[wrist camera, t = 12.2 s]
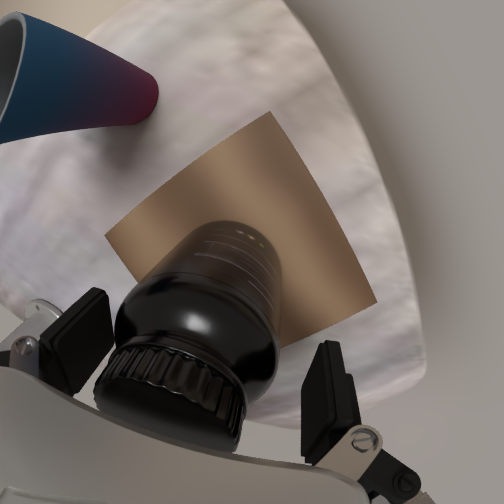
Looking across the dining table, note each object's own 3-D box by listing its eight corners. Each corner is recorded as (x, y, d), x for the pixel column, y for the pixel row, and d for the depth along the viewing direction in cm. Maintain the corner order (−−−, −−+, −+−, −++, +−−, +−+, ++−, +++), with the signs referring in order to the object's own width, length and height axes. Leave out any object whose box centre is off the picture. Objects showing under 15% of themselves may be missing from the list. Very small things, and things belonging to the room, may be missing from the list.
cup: (181, 107, 19) (35, 75, 6) (118, 149, 21) (-30, 178, 7) (151, 47, 18) (22, -13, 4) (93, 91, 19) (-42, 83, 5)
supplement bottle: (249, 329, 19) (213, 487, 8) (165, 281, 19) (64, 411, 8) (304, 253, 17) (323, 428, 6) (206, 195, 16) (67, 296, 5)
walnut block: (228, 330, 27) (214, 372, 22) (141, 214, 24) (104, 235, 18) (358, 266, 23) (377, 302, 18) (274, 120, 20) (270, 111, 14)
